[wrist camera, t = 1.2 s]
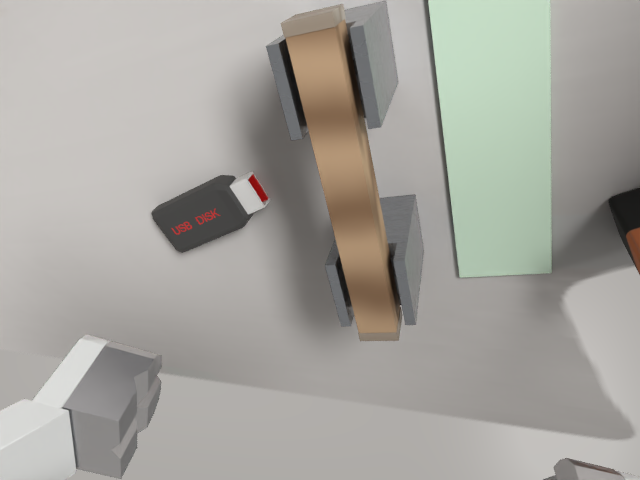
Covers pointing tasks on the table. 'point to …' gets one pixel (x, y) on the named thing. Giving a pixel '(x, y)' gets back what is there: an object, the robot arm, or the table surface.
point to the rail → (345, 165)
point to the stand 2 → (404, 258)
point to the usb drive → (210, 210)
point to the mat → (496, 131)
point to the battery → (628, 221)
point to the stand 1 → (369, 62)
